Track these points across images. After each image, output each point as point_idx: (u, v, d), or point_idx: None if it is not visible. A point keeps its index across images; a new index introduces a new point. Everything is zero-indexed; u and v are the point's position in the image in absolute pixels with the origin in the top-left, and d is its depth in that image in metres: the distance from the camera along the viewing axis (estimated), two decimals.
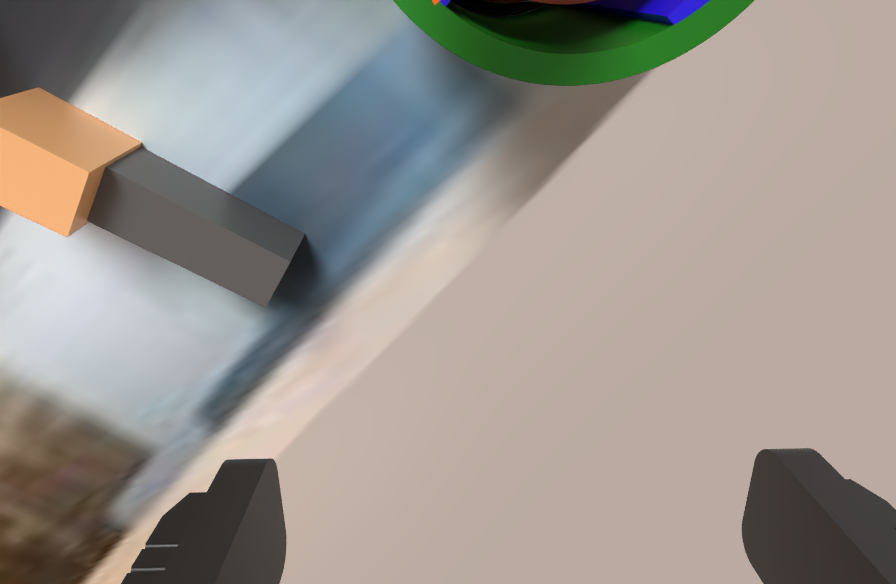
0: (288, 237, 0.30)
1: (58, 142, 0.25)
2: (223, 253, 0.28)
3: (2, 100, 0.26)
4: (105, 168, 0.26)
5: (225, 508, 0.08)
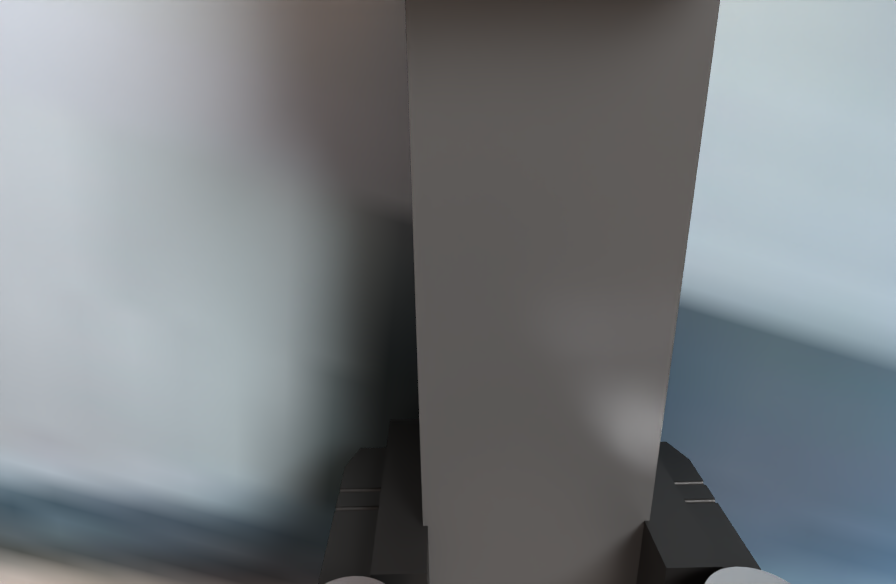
0: None
1: None
2: (558, 470, 0.07)
3: None
4: None
5: (409, 457, 0.09)
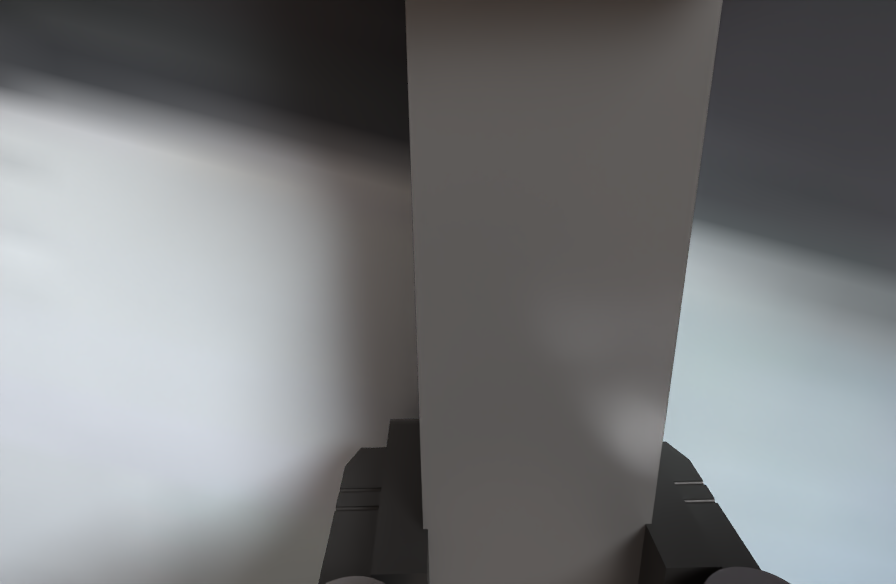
0: None
1: None
2: (559, 481, 0.07)
3: None
4: None
5: (409, 457, 0.09)
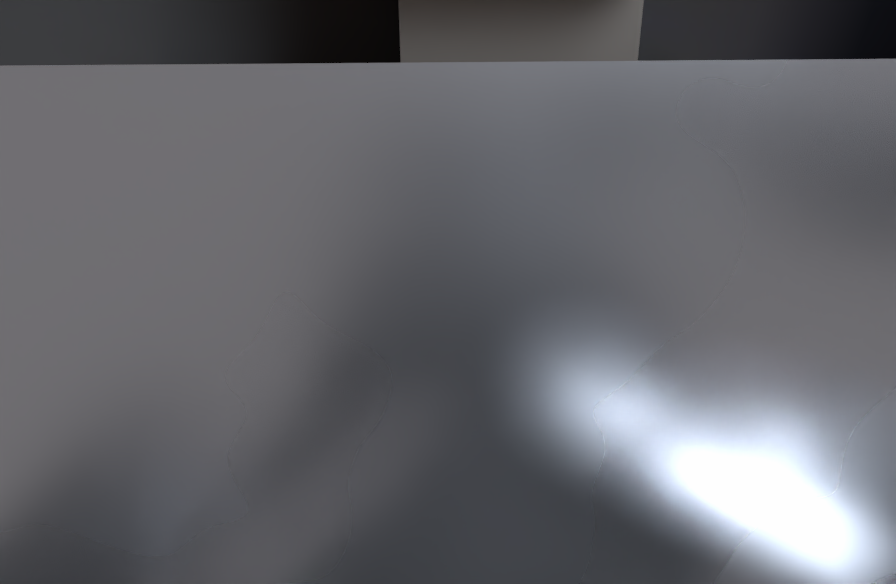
0: None
1: None
2: None
3: None
4: None
5: None
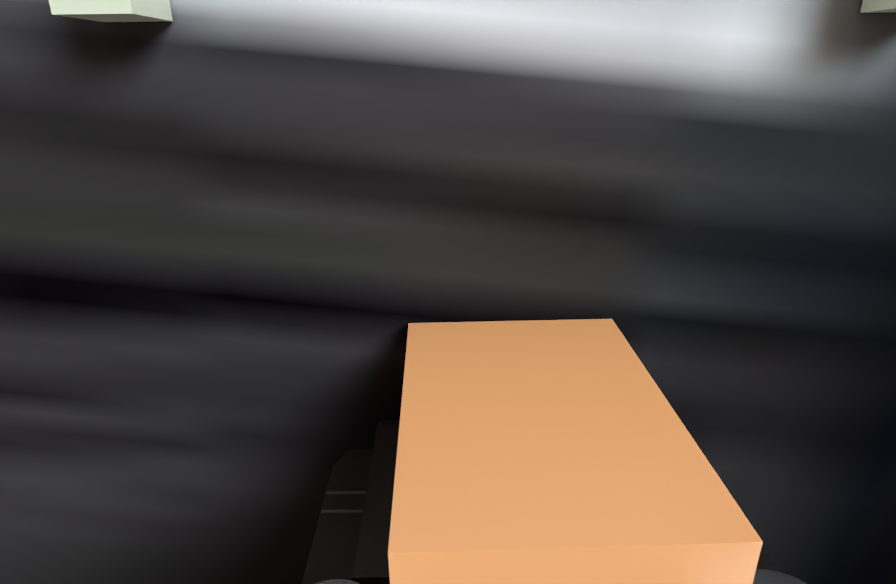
0: None
1: None
2: None
3: (674, 424, 0.08)
4: None
5: None
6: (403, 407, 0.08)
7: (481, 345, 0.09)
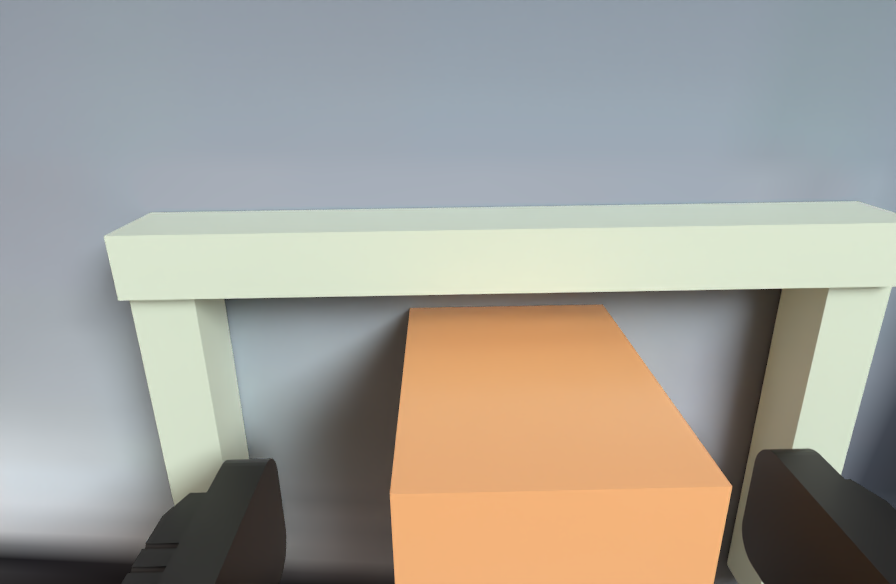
0: None
1: None
2: None
3: (658, 393, 0.08)
4: None
5: (225, 508, 0.08)
6: (404, 378, 0.08)
7: (478, 326, 0.10)
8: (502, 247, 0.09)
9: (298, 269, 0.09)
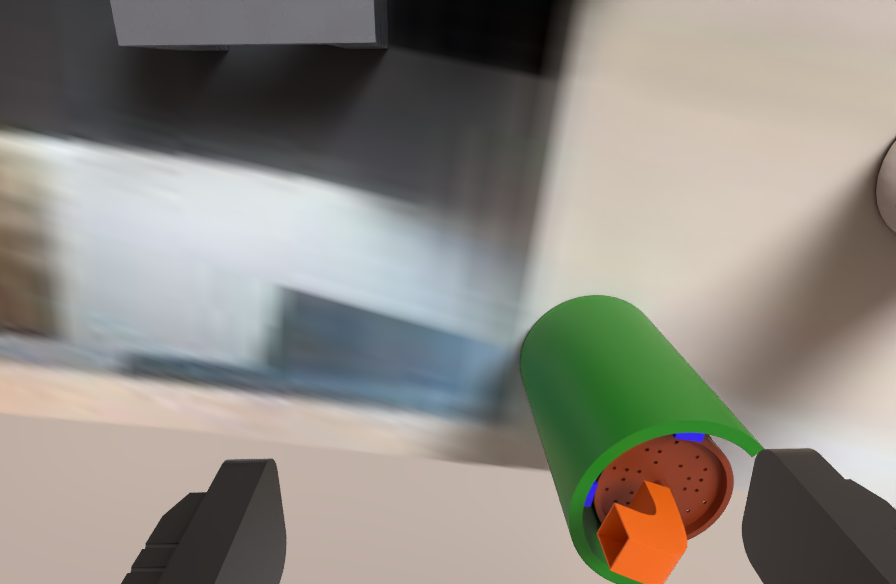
0: None
1: None
2: None
3: None
4: None
5: (225, 508, 0.08)
6: None
7: None
8: None
9: None
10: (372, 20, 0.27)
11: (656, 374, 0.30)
